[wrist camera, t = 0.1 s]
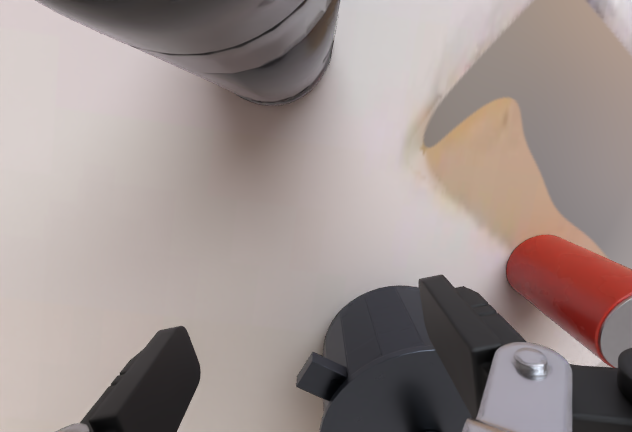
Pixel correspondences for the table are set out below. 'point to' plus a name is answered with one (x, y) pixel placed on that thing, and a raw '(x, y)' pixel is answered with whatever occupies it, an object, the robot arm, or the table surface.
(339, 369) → the pot
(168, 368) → the robot arm
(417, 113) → the table surface
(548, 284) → the tomato can
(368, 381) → the pot lid
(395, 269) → the table surface
